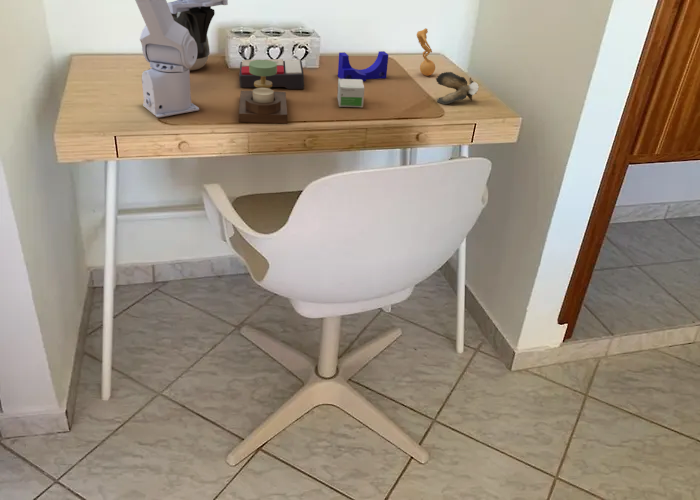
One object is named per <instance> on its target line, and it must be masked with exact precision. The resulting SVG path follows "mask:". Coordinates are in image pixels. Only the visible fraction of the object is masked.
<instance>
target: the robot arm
mask: <svg viewBox="0 0 700 500" xmlns="http://www.w3.org/2000/svg"><path fill="white" fill-rule="evenodd" d="M135 3H136V5H137V7H138V10H139V13H140V14H141V17H142V18H143V21H144V24H145V25H144V27H143V29H142V31H141V33H140V37H139V42H140V43H141V51H142V55H143V57H144V59H145V61H146V63H149V69H146V70H143V71H142V73H141V86H142V88H141V89H142V97H143V103H142V106H143V107H144V108H145V109H146V110H148V112H150V113H151V114H153V115H154V116H155V117H156V118H164V117H169V116H174V115H175V116H176V115H182V114H187V113H191V112H197V111H200V107H198V106H197V105H196V104H194V103H193V102H192V91H191V89H192V88H191V73H190V71H189V68H191V67H192V66H193V65H194V64H195V62H196V59H197V52H198V51H197V44H196V42H199V43H205V42H206V37H208V32H209V28H210V25H211V23H212V20H213V18H214V16H215V15H216V12H215V9H214V8H212V7H217V6H228V5H229V4H228V3H229V2H228V0H174V1H169V2H168V1H167V0H135ZM182 11H183V13H184V15H185V16H186V18H187V20H188V22H189V24H190V26H191V28H192V31H193V34H194V37H195V40H194V38H193V37H192V36H191V35H190V33H189V31H188V29H186V28H185V27H183V26H182V25H180V24H178V23H177V22H175V21H174V19H173V17H172V14H176V13H177V12H182ZM171 13H172V14H171ZM195 41H196V42H195Z"/></svg>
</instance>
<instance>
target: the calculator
mask: <svg viewBox="0 0 700 500" xmlns="http://www.w3.org/2000/svg"><path fill="white" fill-rule="evenodd" d="M254 60H255V59H242V61H241V62H240V64H239V75H238V76H239V77H238V78H239V87H240V88H242V89H243V88H244V89H245V88H246V89H247V88H248V89H249V88H250V89H251V88H253V89H254V88H256V87H255V86H254V82H255V81H257V80H261V76H256V75H253V74H251V73H250V72H249V63H250V62H251V61H254ZM266 60H270V61H273V62H275V63H277V73H276V74H275V75H272V76H266V80H268V81H271V82H272V87H271V88H285V89H287V90H304V89H305V75H304V68H303V62H302V60H300V59H285V60H284V59H282V58H280V59H279V58H278V59H277V58H274V59H272V58H271V59H268V58H267V59H266Z"/></svg>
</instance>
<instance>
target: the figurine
mask: <svg viewBox="0 0 700 500" xmlns="http://www.w3.org/2000/svg"><path fill="white" fill-rule="evenodd" d="M428 33H429V32H428V28H424V29H422V30H418V31H417V32H416V38H417V41H418V43H419V45H420V47H421V48H422V49H423V50H424V51H422V58H423V61H422V62H421V63H420V65H419V71H420V73H421V74H422V75H423V76H425V77H427V76H428V77H429V76H431V75H433V74H434V73H435V71H436V65H435V62H434V61H433V60H431V59H429V58H428V56H429V55H430V54H433V49H432V48H431V46H430V44H429V43H428V41H427V37H428V36H427V34H428Z"/></svg>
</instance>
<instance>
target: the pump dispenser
mask: <svg viewBox="0 0 700 500" xmlns="http://www.w3.org/2000/svg"><path fill="white" fill-rule="evenodd" d="M171 14H172V13H171ZM172 17H173V19H174V21H175V22H177V23H178V24H180V25H182V26H183V27H185V28H186V29H188V31H189V33H190V35H191V36H192V37H193V38H194V40H195V37H194V34H193V31H192V28H191V26H190V24H189V22H188V20H187V18H186V16H185V15H184V13H183V11H182V12H177V13H176V14H172ZM195 42H196V41H195ZM196 44H197V51H198V52H197V59H196V62H195V64H194V65H193V66H192V67H191V68H189V72H190V71H197V70H200V69H201V68H203V67H204V66H205V65H206V63H207V62H208V59H209V56H210V54H211V51H210V49H211V48H210V43H209V38H208V36H207V37H206V42H205V43H199V42H196Z"/></svg>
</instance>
